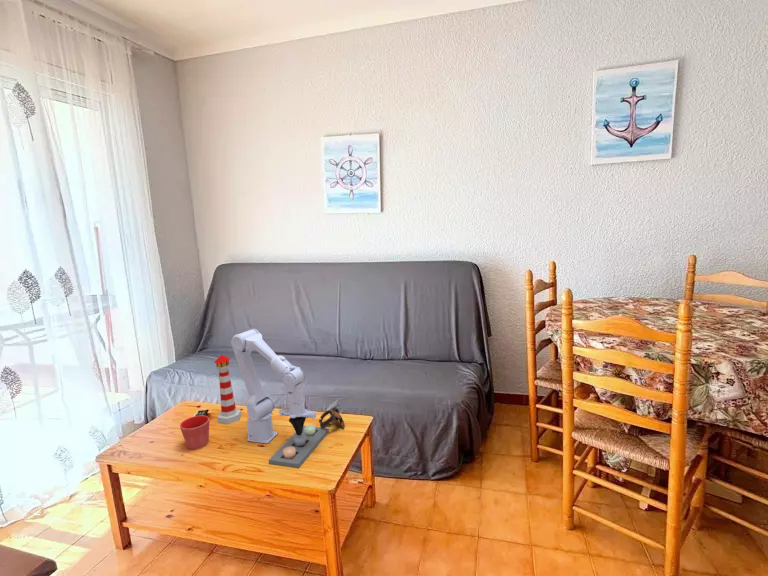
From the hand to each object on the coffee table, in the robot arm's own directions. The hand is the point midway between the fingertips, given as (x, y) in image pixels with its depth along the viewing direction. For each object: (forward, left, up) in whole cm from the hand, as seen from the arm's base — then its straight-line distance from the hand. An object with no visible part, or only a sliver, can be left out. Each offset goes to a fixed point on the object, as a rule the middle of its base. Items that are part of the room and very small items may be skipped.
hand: (299, 434), depth 158 cm
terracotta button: (0, -8, -5) cm, 9 cm away
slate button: (0, 0, -4) cm, 4 cm away
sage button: (0, +8, -5) cm, 9 cm away
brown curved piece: (+6, +17, -6) cm, 19 cm away
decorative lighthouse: (-43, +14, -6) cm, 46 cm away
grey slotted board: (0, 0, -5) cm, 5 cm away
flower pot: (-42, -7, -6) cm, 43 cm away
